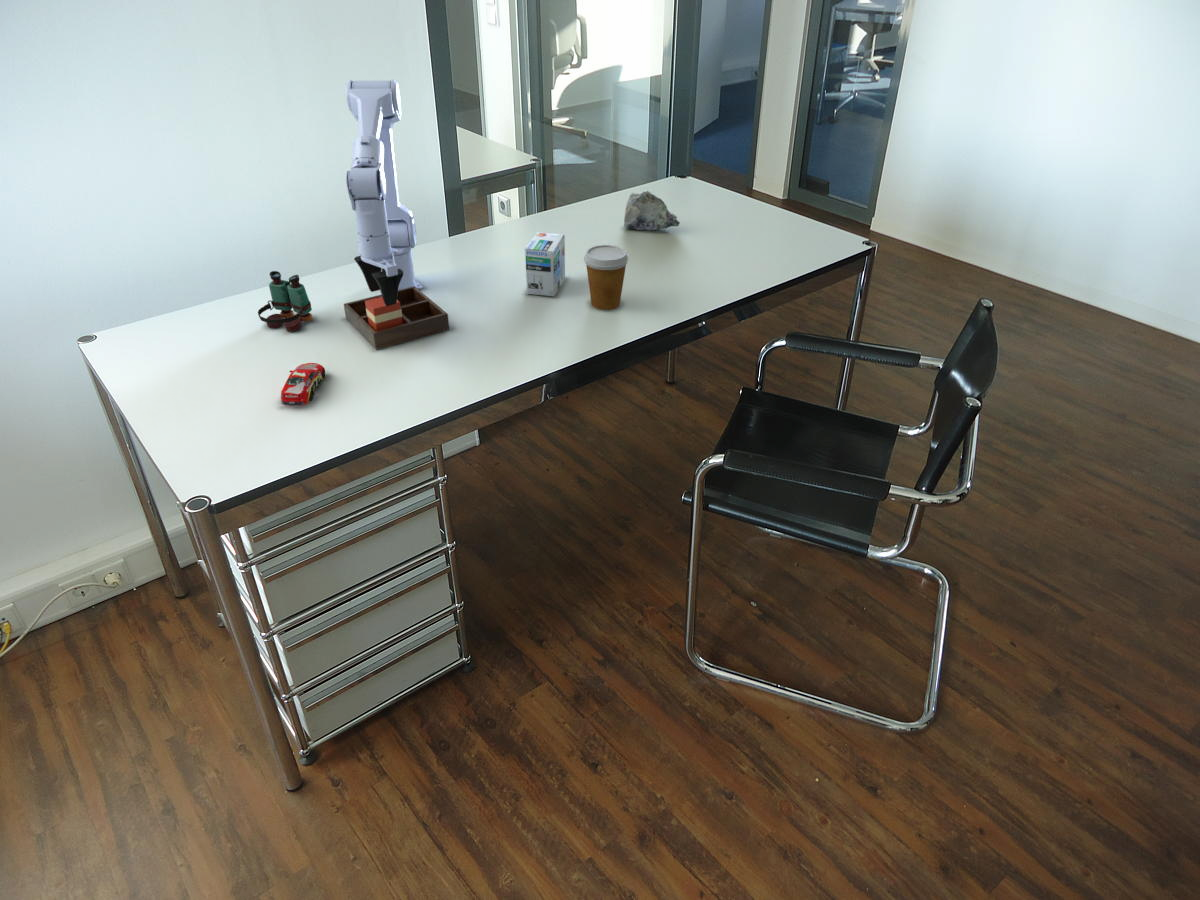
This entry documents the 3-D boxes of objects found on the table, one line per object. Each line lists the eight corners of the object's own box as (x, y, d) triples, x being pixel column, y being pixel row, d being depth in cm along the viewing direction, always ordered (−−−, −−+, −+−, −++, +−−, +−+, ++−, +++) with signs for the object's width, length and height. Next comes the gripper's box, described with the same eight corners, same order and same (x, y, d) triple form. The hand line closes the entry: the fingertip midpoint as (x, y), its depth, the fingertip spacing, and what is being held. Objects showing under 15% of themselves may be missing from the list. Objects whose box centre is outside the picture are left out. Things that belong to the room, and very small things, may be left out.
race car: (301, 371, 163) (297, 353, 161) (330, 372, 163) (326, 354, 161) (277, 408, 152) (272, 389, 150) (307, 409, 152) (303, 390, 150)
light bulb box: (554, 297, 191) (554, 251, 184) (525, 294, 192) (523, 248, 185) (566, 278, 199) (565, 233, 193) (538, 275, 200) (536, 231, 194)
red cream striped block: (369, 332, 175) (364, 300, 170) (395, 325, 177) (391, 293, 173) (378, 340, 172) (373, 309, 167) (404, 333, 174) (400, 302, 170)
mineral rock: (681, 231, 224) (684, 193, 218) (652, 242, 218) (654, 203, 212) (646, 218, 231) (648, 181, 226) (617, 227, 225) (618, 190, 220)
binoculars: (242, 289, 170) (272, 265, 177) (257, 334, 176) (286, 309, 184) (280, 296, 167) (309, 271, 174) (294, 341, 174) (322, 316, 181)
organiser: (346, 319, 181) (343, 303, 179) (416, 301, 188) (414, 286, 186) (376, 350, 170) (373, 334, 168) (449, 329, 178) (447, 313, 175)
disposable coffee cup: (633, 299, 190) (635, 248, 183) (616, 317, 183) (617, 264, 176) (595, 291, 193) (595, 240, 186) (576, 308, 186) (576, 256, 179)
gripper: (408, 239, 159) (417, 305, 167) (378, 215, 169) (387, 279, 177) (373, 247, 156) (383, 314, 164) (343, 222, 166) (354, 287, 174)
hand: (383, 297), depth 170 cm, fingers open, 7 cm apart
